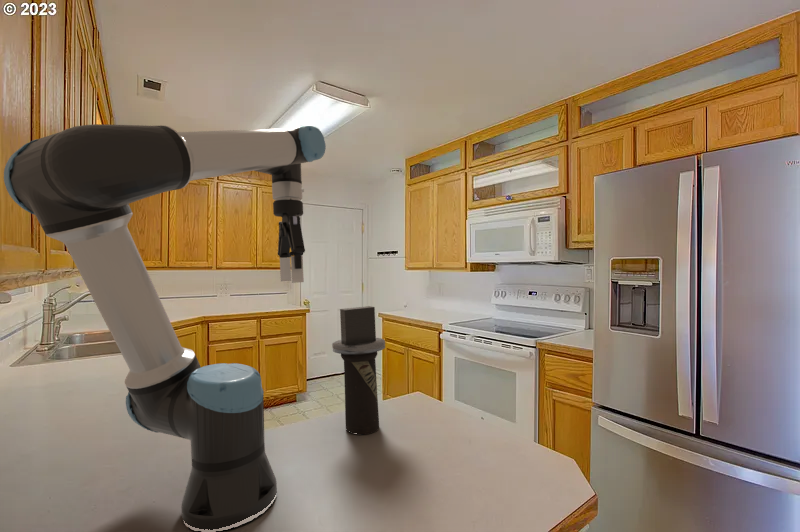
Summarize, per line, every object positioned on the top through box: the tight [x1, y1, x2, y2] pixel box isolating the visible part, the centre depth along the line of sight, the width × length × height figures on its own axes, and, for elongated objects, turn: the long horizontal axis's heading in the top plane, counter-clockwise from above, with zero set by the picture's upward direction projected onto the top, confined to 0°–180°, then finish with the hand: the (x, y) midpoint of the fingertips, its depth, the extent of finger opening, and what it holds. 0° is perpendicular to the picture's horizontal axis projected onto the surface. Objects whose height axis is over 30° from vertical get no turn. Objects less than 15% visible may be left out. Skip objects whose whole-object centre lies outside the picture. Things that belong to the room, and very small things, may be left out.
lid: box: [331, 305, 386, 355], centre depth 97 cm, size 13×13×10 cm
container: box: [340, 351, 380, 435], centre depth 97 cm, size 9×9×20 cm
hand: (291, 281), depth 102 cm, fingers open, 13 cm apart
